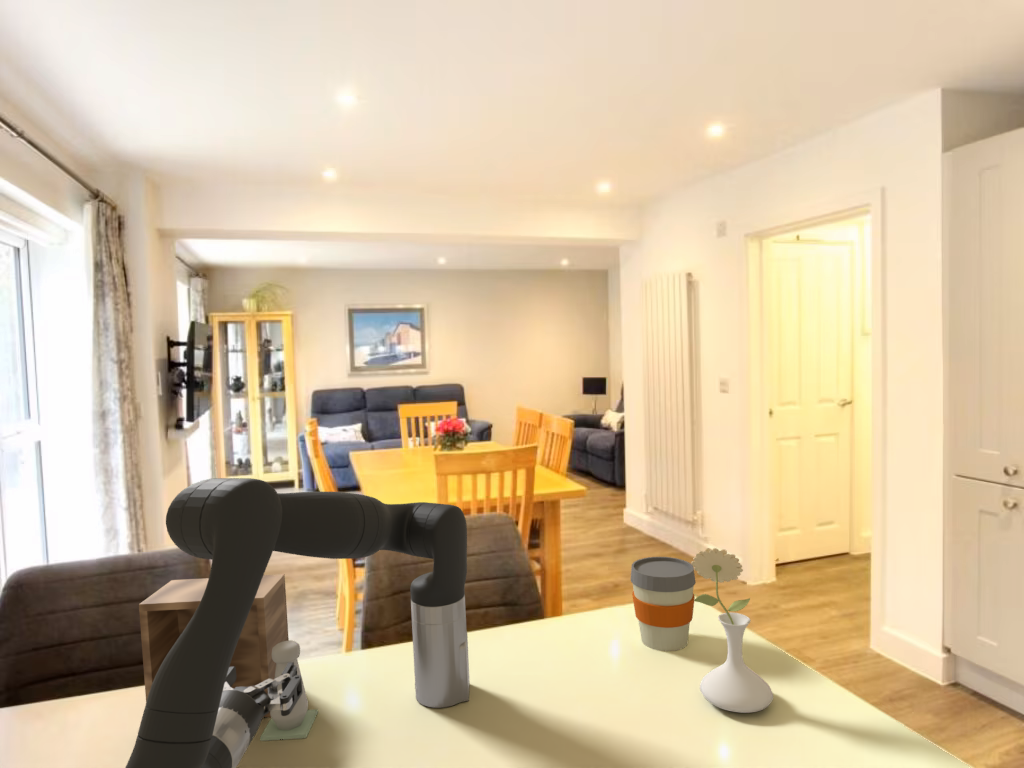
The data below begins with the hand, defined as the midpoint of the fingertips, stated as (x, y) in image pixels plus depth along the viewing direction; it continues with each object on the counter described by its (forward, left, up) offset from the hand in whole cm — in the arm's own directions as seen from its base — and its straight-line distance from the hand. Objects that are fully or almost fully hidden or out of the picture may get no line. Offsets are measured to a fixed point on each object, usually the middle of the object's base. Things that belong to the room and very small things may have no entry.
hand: (262, 670), depth 95 cm
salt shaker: (-1, -7, -13) cm, 15 cm away
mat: (-1, -8, -13) cm, 15 cm away
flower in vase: (-73, -8, -13) cm, 75 cm away
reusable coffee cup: (-68, -30, -13) cm, 75 cm away
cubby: (+13, -16, -13) cm, 24 cm away
